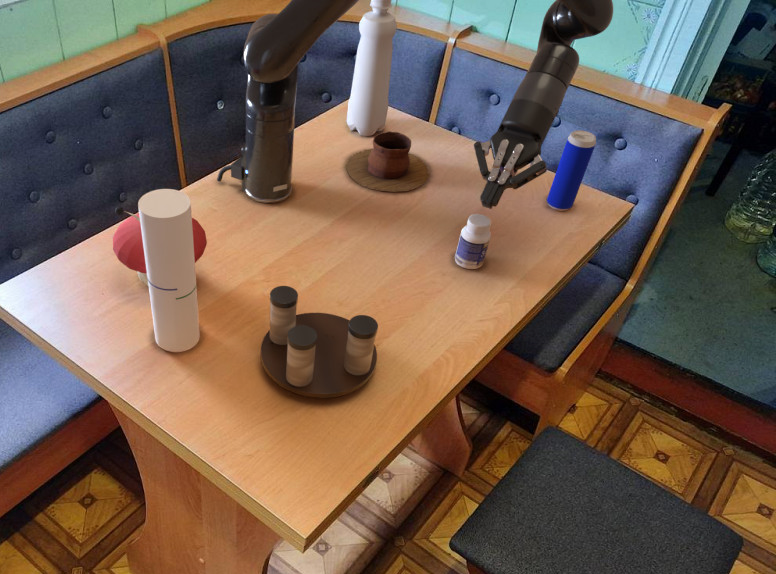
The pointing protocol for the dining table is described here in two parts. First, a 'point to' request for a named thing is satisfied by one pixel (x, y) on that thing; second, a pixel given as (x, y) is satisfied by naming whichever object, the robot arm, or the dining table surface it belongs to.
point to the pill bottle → (473, 242)
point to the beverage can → (571, 170)
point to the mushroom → (131, 243)
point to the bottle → (372, 70)
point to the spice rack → (317, 348)
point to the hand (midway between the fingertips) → (486, 206)
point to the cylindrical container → (170, 267)
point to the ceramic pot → (388, 165)
